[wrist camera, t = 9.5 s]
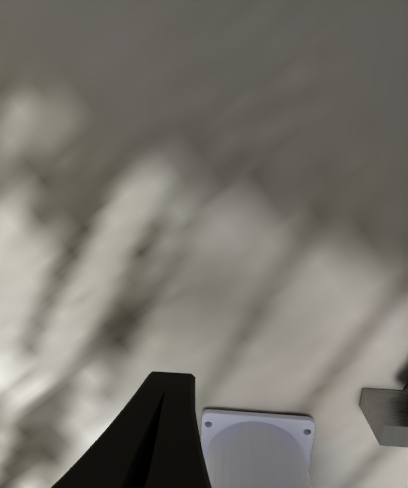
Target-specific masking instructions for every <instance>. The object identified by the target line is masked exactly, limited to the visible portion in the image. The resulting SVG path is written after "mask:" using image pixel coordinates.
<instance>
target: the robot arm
mask: <svg viewBox="0 0 408 488" xmlns="http://www.w3.org/2000/svg"><path fill="white" fill-rule="evenodd" d="M208 421H209V422H210V423H208ZM305 429H308V430H305ZM314 430H315V423H314V420H313V419H312V418H311V417H307V416H293V415H279V414H266V413H252V412H239V411H225V410H212V409H207V410H204V411H203V413H202V436H201V442H200V436H199V431H198V425H197V419H196V412H195V377H194V376H193V375H192V374H186V373H170V372H151V373H150V374H149V375H148V377H147V378H146V379H145V381H144V382H143V384H142V385H141V386H140V388H139V389H138V390H137V392H136V393H135V394H134V396H133V397H132V398H131V400H130V401H129V402H128V403H127V405H126V406H125V407H124V409H123V410H122V411H121V412H120V413H119V415H118V416H117V417H116V418H115V419H114V421H113V422H112V423H111V424H110V426H109V427H108V428H107V429H106V430H105V431H104V433H103V434H102V435H101V436H100V437H99V438H98V439H97V440H96V441H95V443H94V444H93V445H92V446H91V447H90V448H89V449H88V450H87V451H86V452H85V454H84V455H83V456H82V457H81V458H80V459H79V460H78V461H77V462H76V463H75V464H74V465H73V466H72V467H71V468H70V469H69V470H68V471H67V472H66V473H65V474H64V476H63V477H62V478H61V479H60V480H58V481H57V482H56V483H55V484H54V485H53V486H52V487H51V488H312V485H311V481H310V477H309V466H310V459H311V452H312V445H313V437H314Z"/></svg>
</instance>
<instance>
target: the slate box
mask: <svg viewBox="0 0 408 488" xmlns="http://www.w3.org/2000/svg"><path fill="white" fill-rule="evenodd" d="M359 406H360V408H361V410H362V412H363V414H364V416H365V418H366V420H367V422H368V424H369V425H370V427H371V429H372V431H373V433H374V435H375V437H376V439H377V441H378V443H379V444H380V445H384V446H397V447H408V397H407V395H405V393H403V391H399V390H384V389H369V388H362V394H361V399H360V405H359Z"/></svg>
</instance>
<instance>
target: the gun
mask: <svg viewBox="0 0 408 488" xmlns="http://www.w3.org/2000/svg"><path fill="white" fill-rule="evenodd" d="M403 393H405V395H407V397H408V384H407V385H406V386H405V388H404V389H403Z"/></svg>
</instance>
